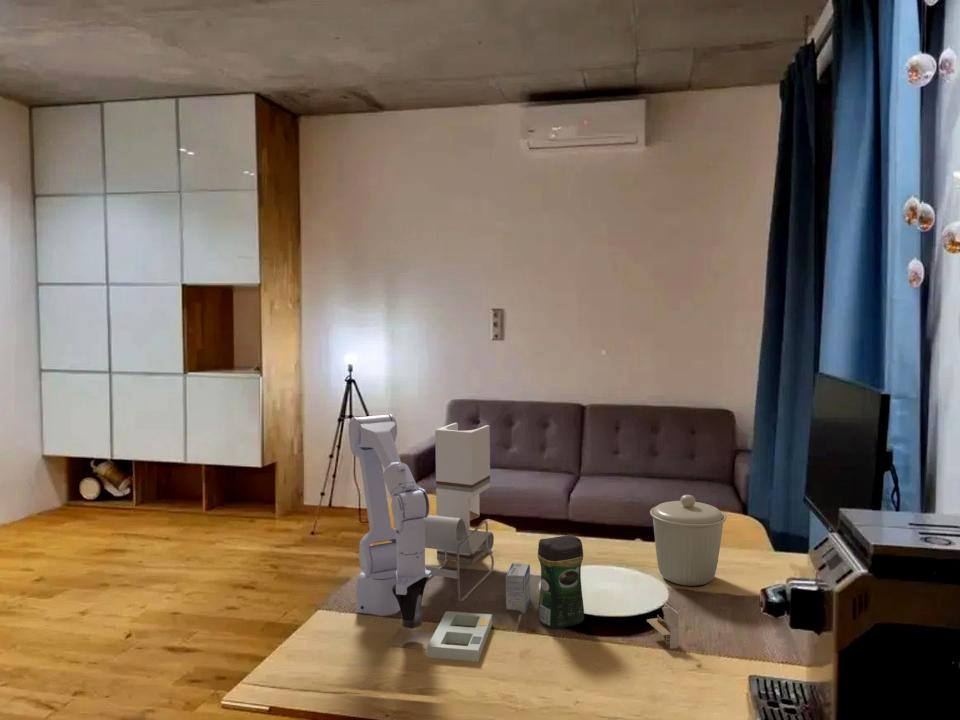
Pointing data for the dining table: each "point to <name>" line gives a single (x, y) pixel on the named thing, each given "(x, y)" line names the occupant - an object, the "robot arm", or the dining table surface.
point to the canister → (687, 540)
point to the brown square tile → (411, 639)
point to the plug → (418, 615)
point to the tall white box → (461, 477)
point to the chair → (455, 543)
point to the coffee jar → (560, 581)
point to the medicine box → (518, 587)
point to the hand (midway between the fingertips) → (411, 614)
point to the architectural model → (667, 625)
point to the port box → (460, 636)
